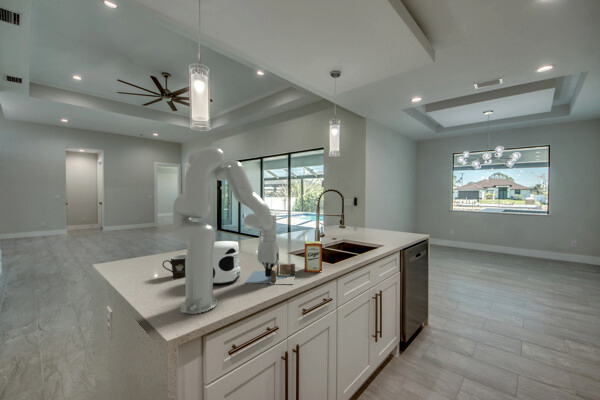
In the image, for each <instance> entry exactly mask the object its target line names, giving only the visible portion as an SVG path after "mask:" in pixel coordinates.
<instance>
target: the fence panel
mask: <svg viewBox="0 0 600 400" xmlns="http://www.w3.org/2000/svg"><path fill="white" fill-rule="evenodd" d="M276 276H277V265H276V266H275V267H274V266H273V268H272V271H271V282H272V283H275V282H276Z"/></svg>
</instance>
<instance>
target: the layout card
mask: <svg viewBox="0 0 600 400" xmlns="http://www.w3.org/2000/svg"><path fill="white" fill-rule="evenodd" d="M295 275H296V276H297V271H295ZM295 275H294V276H295ZM294 276H291V275H290V274H280V271H279V275H277V276H276V280H277V279H278V280H279V279H284V278H287V277H294ZM296 276H295V277H296ZM270 282H271V276H269V277H266V276H265V270H253V271H252V273H251V274H250V275H249V277H248V278H247V279H246V280H245V282H244V284H247V283H270ZM271 283H272V282H271Z"/></svg>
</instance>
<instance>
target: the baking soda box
mask: <svg viewBox="0 0 600 400" xmlns="http://www.w3.org/2000/svg"><path fill="white" fill-rule="evenodd" d="M305 271H306V272H305ZM320 271H322V272H323V242H322V241H309V240H308V241H307V240H306V241H304V272H305V273H321V272H320Z"/></svg>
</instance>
